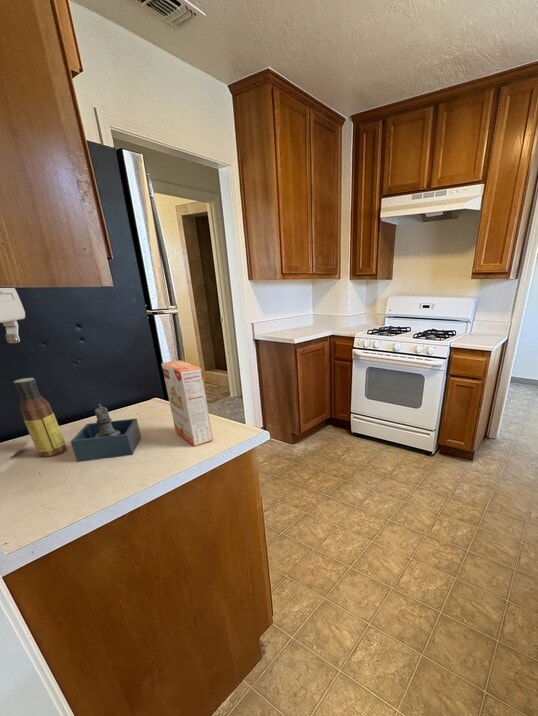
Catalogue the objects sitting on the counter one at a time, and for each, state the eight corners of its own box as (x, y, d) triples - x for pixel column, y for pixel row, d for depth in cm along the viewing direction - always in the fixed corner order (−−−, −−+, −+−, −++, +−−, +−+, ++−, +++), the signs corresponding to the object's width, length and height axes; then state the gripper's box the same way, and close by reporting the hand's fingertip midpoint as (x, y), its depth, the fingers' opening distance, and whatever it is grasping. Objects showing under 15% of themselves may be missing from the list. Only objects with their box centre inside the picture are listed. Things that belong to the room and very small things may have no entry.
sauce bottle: (64, 445, 97) (40, 374, 90) (69, 452, 93) (45, 378, 86) (35, 452, 93) (7, 379, 85) (39, 460, 89) (10, 384, 81)
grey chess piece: (116, 440, 99) (105, 399, 94) (127, 444, 96) (116, 402, 91) (94, 447, 94) (81, 404, 90) (105, 452, 91) (92, 409, 87)
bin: (77, 461, 88) (70, 441, 86) (92, 442, 99) (86, 423, 97) (132, 454, 91) (127, 435, 89) (141, 436, 102) (136, 418, 100)
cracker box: (174, 432, 105) (160, 362, 96) (194, 427, 108) (182, 359, 100) (192, 447, 95) (178, 370, 87) (213, 441, 98) (202, 366, 90)
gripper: (-13, 275, 77) (10, 340, 82) (-83, 271, 59) (-47, 355, 64) (21, 274, 78) (42, 338, 84) (-37, 271, 60) (-6, 353, 66)
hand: (3, 346), depth 74 cm, fingers open, 8 cm apart
